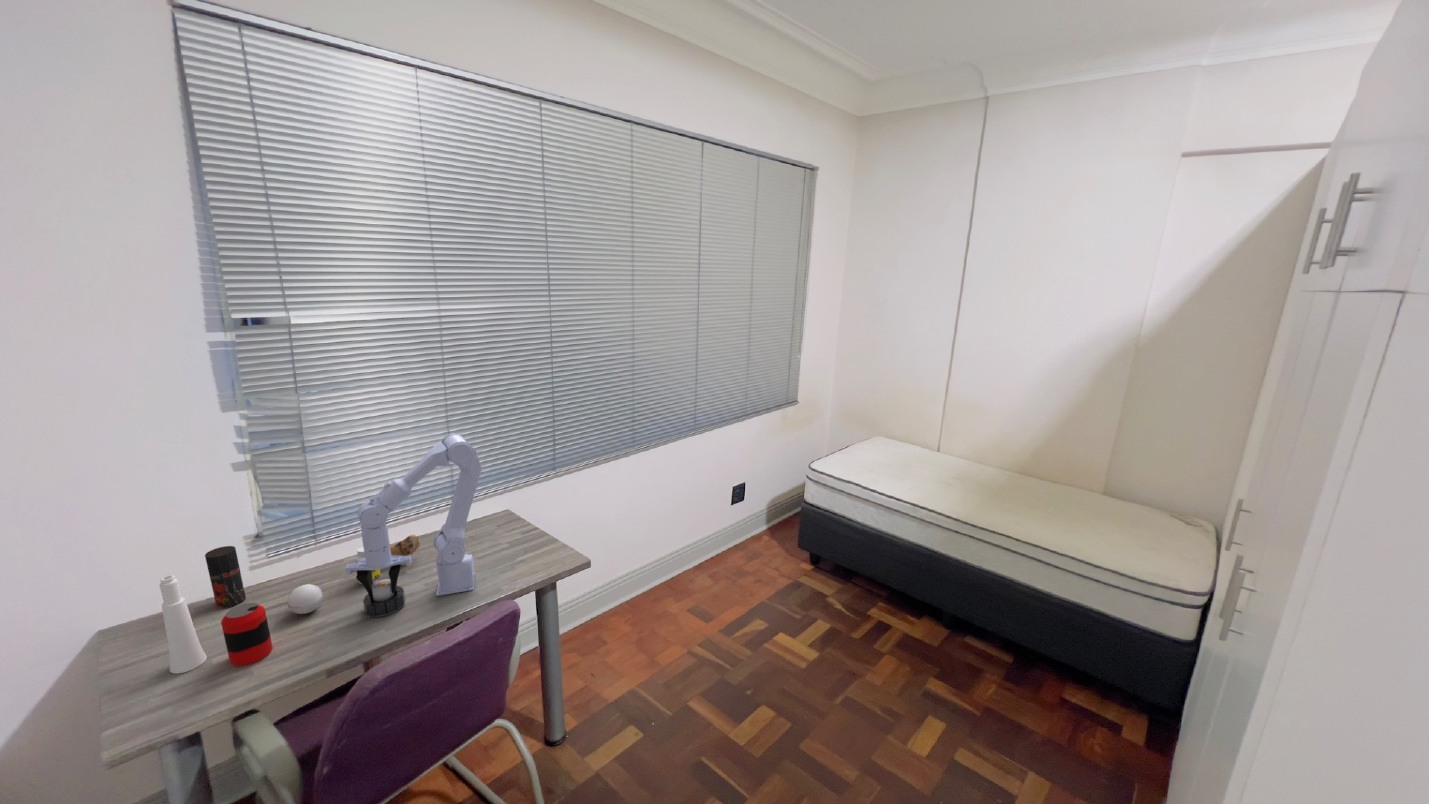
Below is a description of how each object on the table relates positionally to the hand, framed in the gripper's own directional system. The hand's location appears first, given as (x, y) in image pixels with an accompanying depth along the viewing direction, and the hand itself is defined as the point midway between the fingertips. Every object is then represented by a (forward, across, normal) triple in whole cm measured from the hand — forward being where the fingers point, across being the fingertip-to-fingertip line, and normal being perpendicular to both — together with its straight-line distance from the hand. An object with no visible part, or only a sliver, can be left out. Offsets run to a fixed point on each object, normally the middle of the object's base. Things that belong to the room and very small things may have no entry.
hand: (383, 592), depth 141 cm
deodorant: (+5, +39, -16) cm, 42 cm away
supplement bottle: (+5, +7, -16) cm, 18 cm away
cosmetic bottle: (+5, +37, +10) cm, 39 cm away
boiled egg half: (+1, 0, 0) cm, 1 cm away
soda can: (+5, +25, +11) cm, 28 cm away
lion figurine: (+5, +1, -24) cm, 25 cm away
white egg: (+5, +20, -4) cm, 21 cm away
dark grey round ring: (+4, 0, 0) cm, 4 cm away
